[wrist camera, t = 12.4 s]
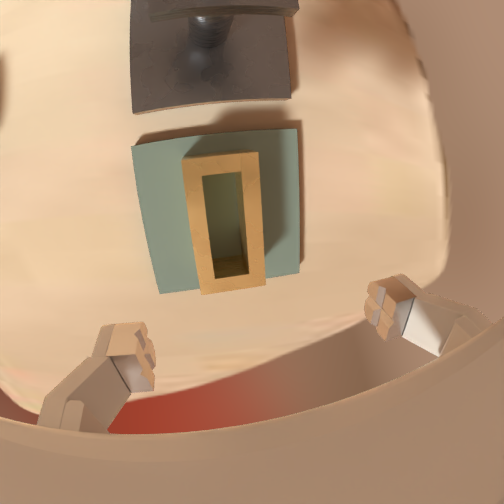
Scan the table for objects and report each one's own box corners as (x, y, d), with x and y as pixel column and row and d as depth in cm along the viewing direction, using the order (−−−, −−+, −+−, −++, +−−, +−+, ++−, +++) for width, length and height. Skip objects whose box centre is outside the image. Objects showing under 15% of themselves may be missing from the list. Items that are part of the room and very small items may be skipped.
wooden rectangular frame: (183, 156, 20) (181, 160, 17) (248, 149, 20) (258, 152, 17) (199, 273, 24) (201, 294, 21) (256, 265, 25) (265, 285, 22)
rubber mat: (133, 145, 19) (131, 146, 18) (292, 129, 21) (296, 128, 20) (160, 288, 25) (159, 294, 24) (295, 268, 27) (299, 272, 26)
